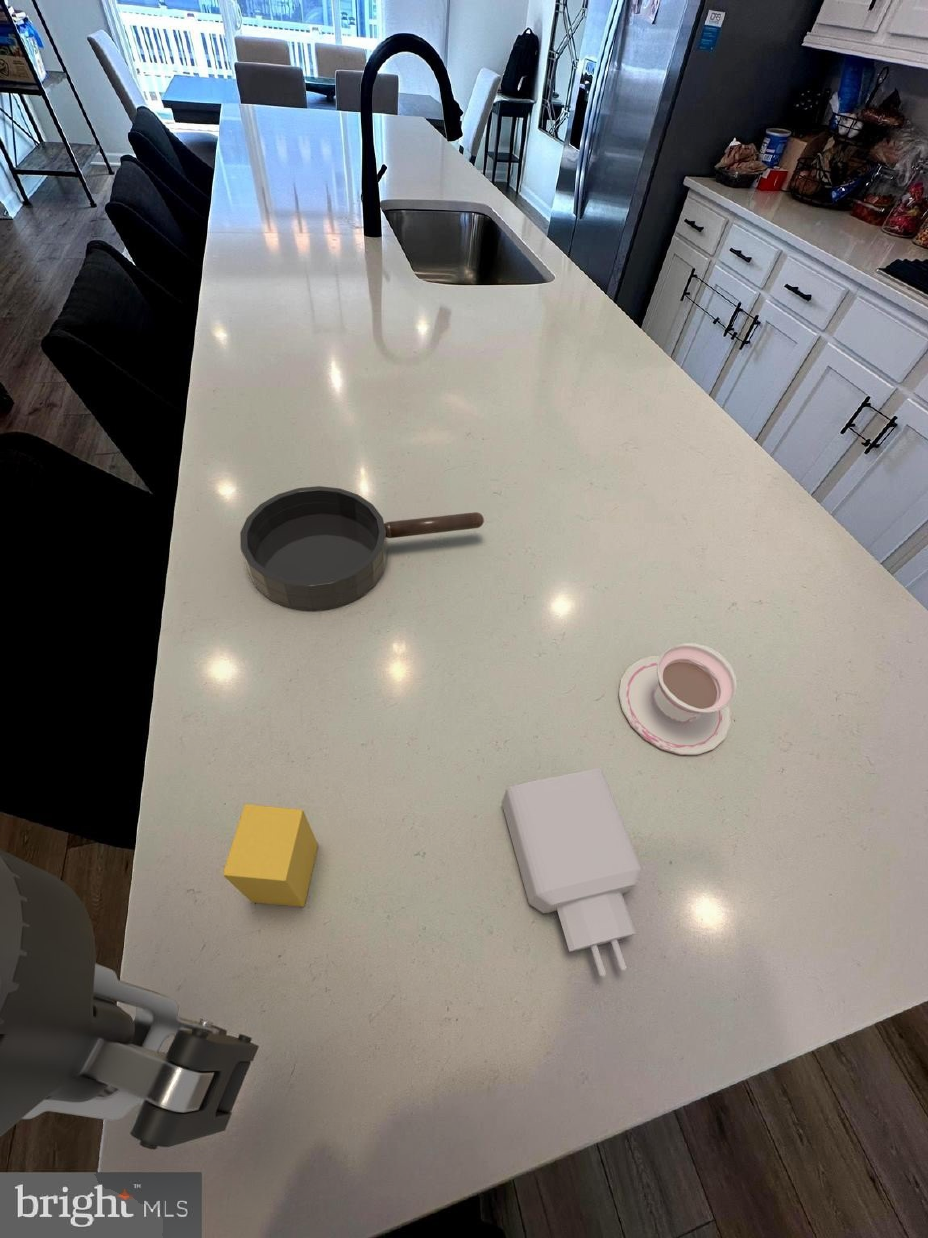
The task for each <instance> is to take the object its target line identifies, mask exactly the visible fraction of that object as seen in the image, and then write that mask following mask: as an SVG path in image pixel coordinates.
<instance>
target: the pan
mask: <svg viewBox="0 0 928 1238" xmlns="http://www.w3.org/2000/svg"><path fill="white" fill-rule="evenodd" d="M384 523H385V521H384V517H383V516H382V514H381V513H380V512H379V511H378V509H377V508H376V506H375V505H374V504H373V503H372V502H370V501H368V500H367V499H366V498H364V497H362V496H361V495H359V494H358V493H356V492H352V491H349V490H346V489H344V488H340V487H332V486H331V487H330V486H322V485H321V486H320V485H316V486H306V487H298V488H297V487H296V488H294V489H291V490H287V491H284V492H281V493H278V494H275V495H274V496H272V497H270V498H268V499H267V500H265V501H263V502H262V503H260V504H259V505H258V506H257V507H256V508H255V509H254V510H253V511H252V512H251V513H250V514H249V515H248V516H247V517H246V519H245V521H244V523H243V526H242V528H241V530H240V532H239V535H240V536H239V539H240V541H239V543H240V546H239V547H240V552H241V554H242V555H241V556H242V557H243V560H244V564H245V567H246V569H247V573H248V574H249V577H250V579H251V581H252V583H253V584H254V586H255V588H256V589H257V590H258V591H259V593H261V594H262V595H263V596H264V597H265V598H267V599H269V600H270V601H271V602H273V603H275V604H277V605H279V606H283V607H285V608H288V609H293V610H297V611H306V612H316V611H326V610H327V611H328V610H334V609H338V608H341V607H344V606H346V605H349V604H352V603H354V602H355V601H357V600H358V599H361V598H362V597H364V596H366V594H368V593H369V592H370V591H372V589H373V588H375V586H376V585H377V584H378V583H379V581H380V579H381V578H382V576H383V574H384V572H385V569H386V565H387V557H388V546H387V542H388V541H387V538H386V529H385V525H384Z"/></svg>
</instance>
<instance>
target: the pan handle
mask: <svg viewBox="0 0 928 1238" xmlns="http://www.w3.org/2000/svg"><path fill="white" fill-rule="evenodd" d="M484 522H485V517H484V516H483V514H481V513H480V512H477V511H476V512H475V511H474V512H466V513H456V514H448V515H438V516H437V515H436V516H429V517H419V518H411V519H410V518H409V519H402V520H400V519H399V520H392V521H386V522H384V525H385V529H386V539H395V538H405V537H411V536H413V537H414V536H422V535H430V534H439V533H448V532H457V531H464V530H465V531H466V530H473V529H479V528H481V527H482V526H483V525H484Z"/></svg>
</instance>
